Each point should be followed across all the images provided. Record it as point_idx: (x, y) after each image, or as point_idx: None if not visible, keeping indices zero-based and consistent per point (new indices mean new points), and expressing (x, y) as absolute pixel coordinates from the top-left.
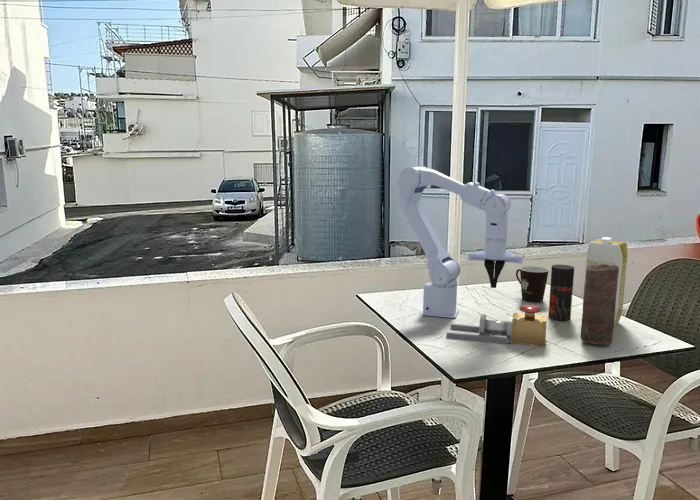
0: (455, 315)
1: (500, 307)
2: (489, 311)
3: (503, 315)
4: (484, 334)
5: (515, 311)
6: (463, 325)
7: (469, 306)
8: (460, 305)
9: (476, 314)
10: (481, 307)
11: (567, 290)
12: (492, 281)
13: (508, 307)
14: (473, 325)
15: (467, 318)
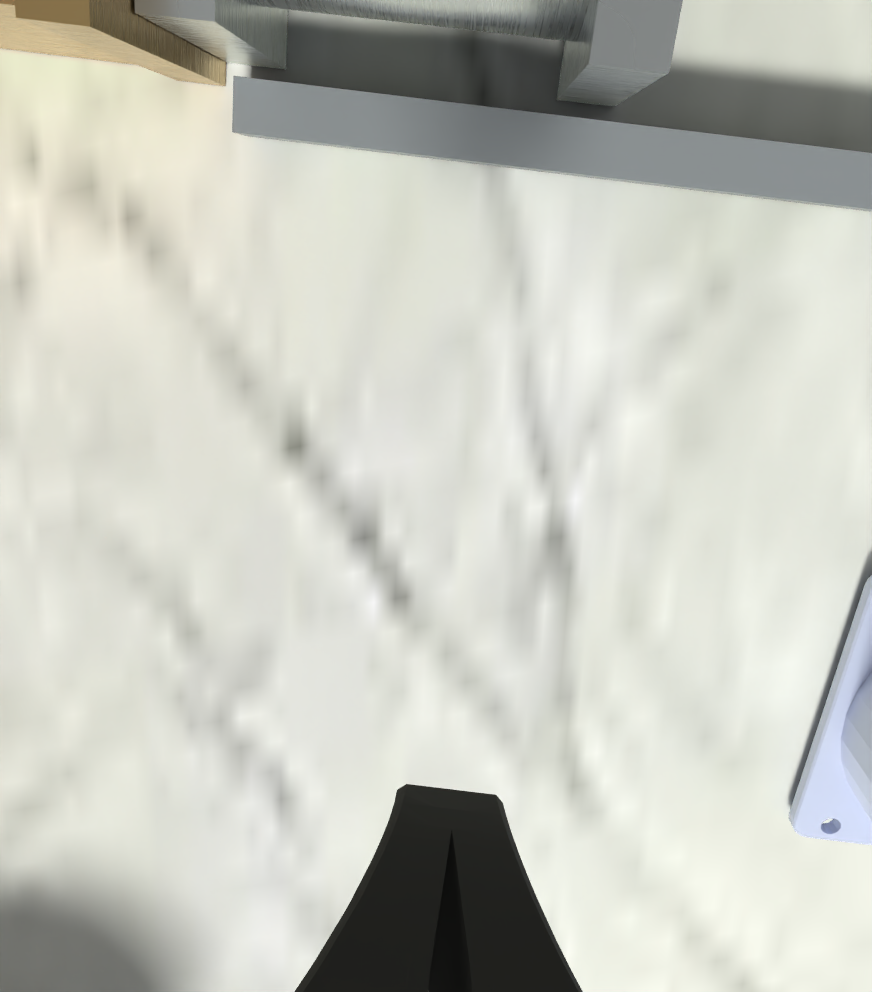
0: (867, 623)
1: None
2: None
3: (328, 759)
4: None
5: (57, 6)
6: (856, 156)
7: (653, 965)
8: (741, 981)
9: (605, 748)
10: None
11: None
12: (474, 882)
13: (280, 983)
14: (716, 186)
15: (719, 605)
